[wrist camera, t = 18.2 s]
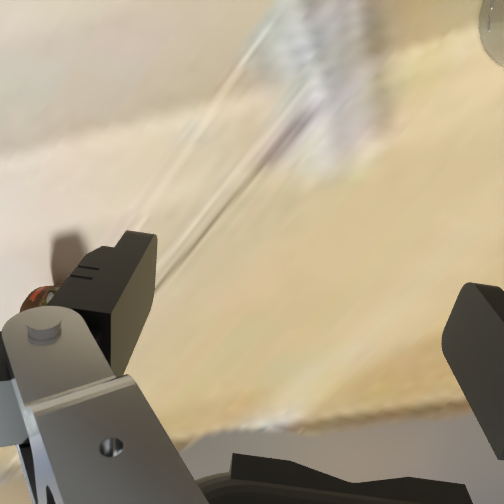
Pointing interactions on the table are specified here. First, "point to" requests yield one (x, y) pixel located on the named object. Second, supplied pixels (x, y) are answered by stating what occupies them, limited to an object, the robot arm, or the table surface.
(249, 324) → the table surface
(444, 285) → the table surface
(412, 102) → the table surface
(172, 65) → the table surface
